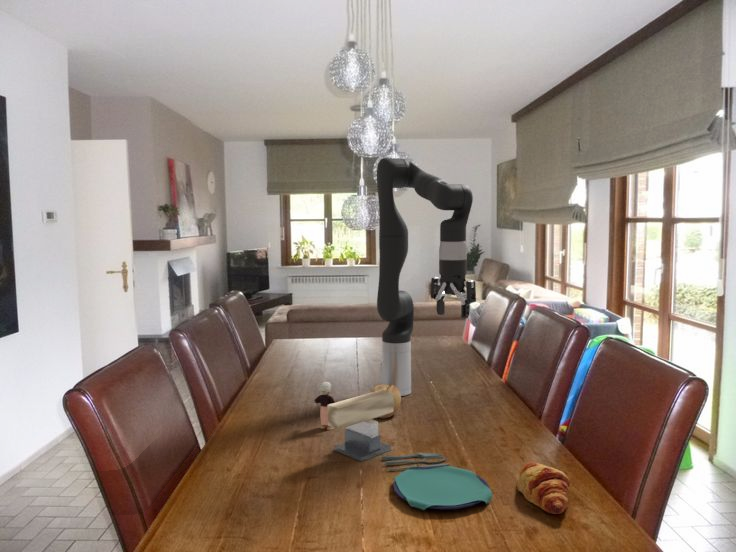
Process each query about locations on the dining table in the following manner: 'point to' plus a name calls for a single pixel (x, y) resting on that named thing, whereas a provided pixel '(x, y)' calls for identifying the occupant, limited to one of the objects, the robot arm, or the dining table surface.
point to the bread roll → (395, 397)
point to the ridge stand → (362, 441)
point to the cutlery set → (438, 484)
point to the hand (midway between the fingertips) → (452, 316)
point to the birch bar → (360, 409)
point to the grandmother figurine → (324, 404)
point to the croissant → (544, 487)
